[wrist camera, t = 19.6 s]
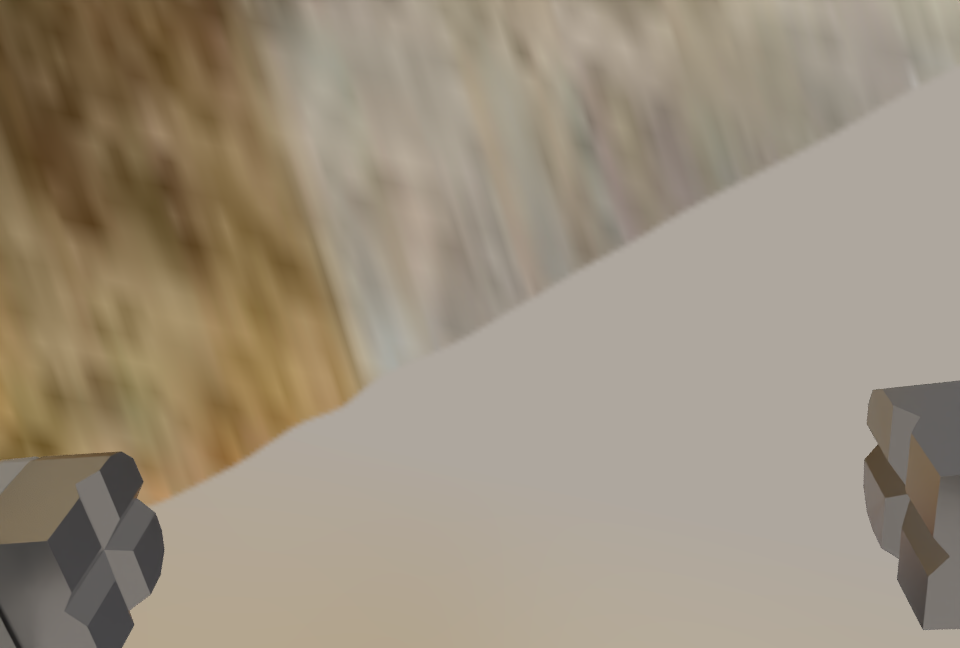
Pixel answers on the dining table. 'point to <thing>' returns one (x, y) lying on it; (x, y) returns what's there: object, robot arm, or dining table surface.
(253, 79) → the dining table surface
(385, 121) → the dining table surface
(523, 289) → the dining table surface
